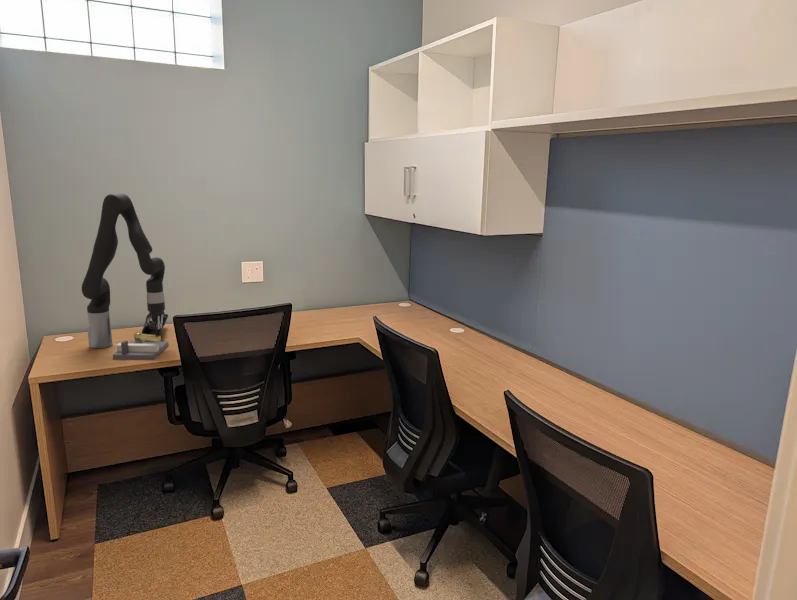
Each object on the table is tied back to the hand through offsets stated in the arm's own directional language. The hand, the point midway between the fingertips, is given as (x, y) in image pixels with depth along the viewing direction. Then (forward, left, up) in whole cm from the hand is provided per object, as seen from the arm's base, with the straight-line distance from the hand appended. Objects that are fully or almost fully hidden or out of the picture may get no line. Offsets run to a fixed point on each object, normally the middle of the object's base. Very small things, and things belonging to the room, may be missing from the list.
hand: (158, 336), depth 266 cm
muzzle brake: (-10, +23, -8) cm, 26 cm away
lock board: (-7, -3, -7) cm, 10 cm away
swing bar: (-5, -1, -2) cm, 5 cm away
